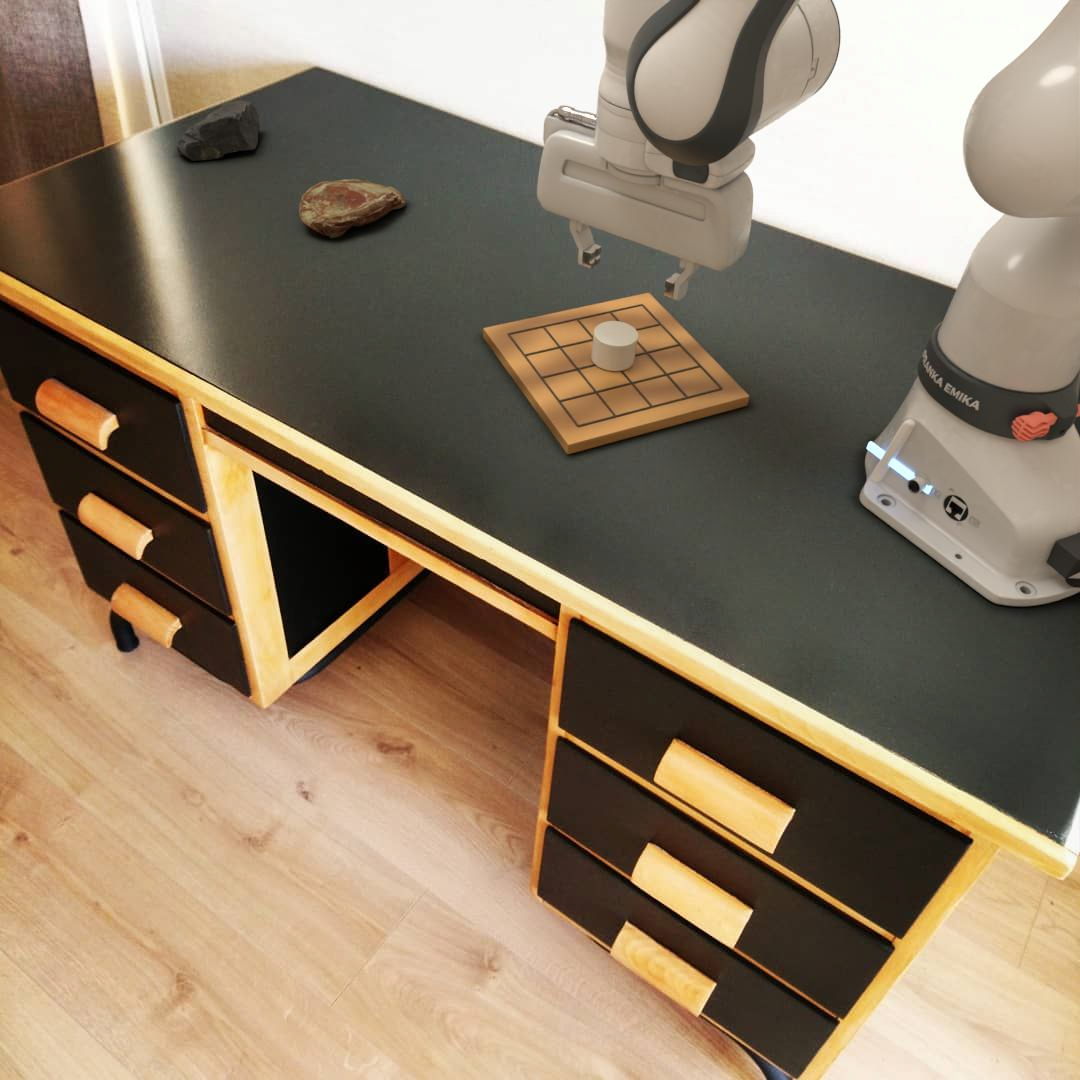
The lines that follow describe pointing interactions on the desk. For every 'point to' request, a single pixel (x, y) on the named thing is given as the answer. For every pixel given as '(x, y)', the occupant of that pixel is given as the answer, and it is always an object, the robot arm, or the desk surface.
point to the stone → (346, 205)
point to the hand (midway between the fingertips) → (630, 280)
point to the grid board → (612, 373)
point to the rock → (222, 132)
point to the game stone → (614, 345)
